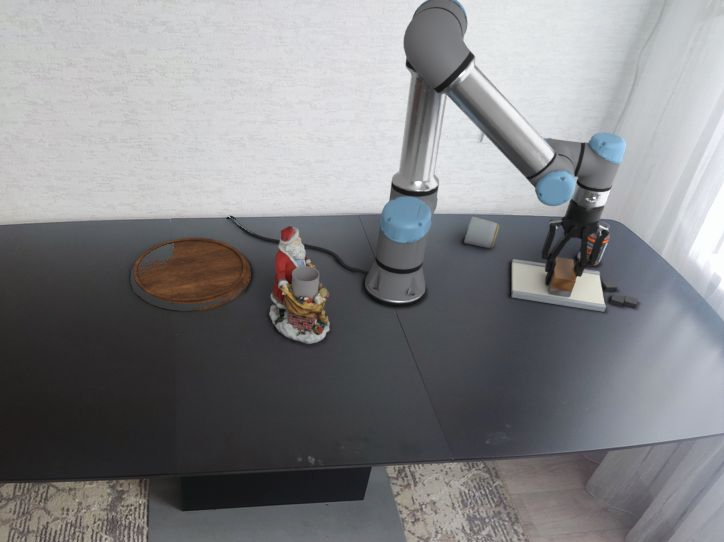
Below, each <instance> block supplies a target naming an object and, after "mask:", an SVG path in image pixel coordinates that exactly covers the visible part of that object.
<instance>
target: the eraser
mask: <svg viewBox="0 0 724 542" xmlns="http://www.w3.org/2000/svg"><path fill="white" fill-rule="evenodd" d="M574 266H575V263H574V259H573V258H565V257H558V256H557V257H556V265H555V268H554V271H553V274H552V277H551V280H550V283H549V285H548V286H549V294H553V295H560V296H567V297H570V296H571V293H572V290H573V288H574V285H575V282H576V277H575V269H574Z"/></svg>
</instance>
